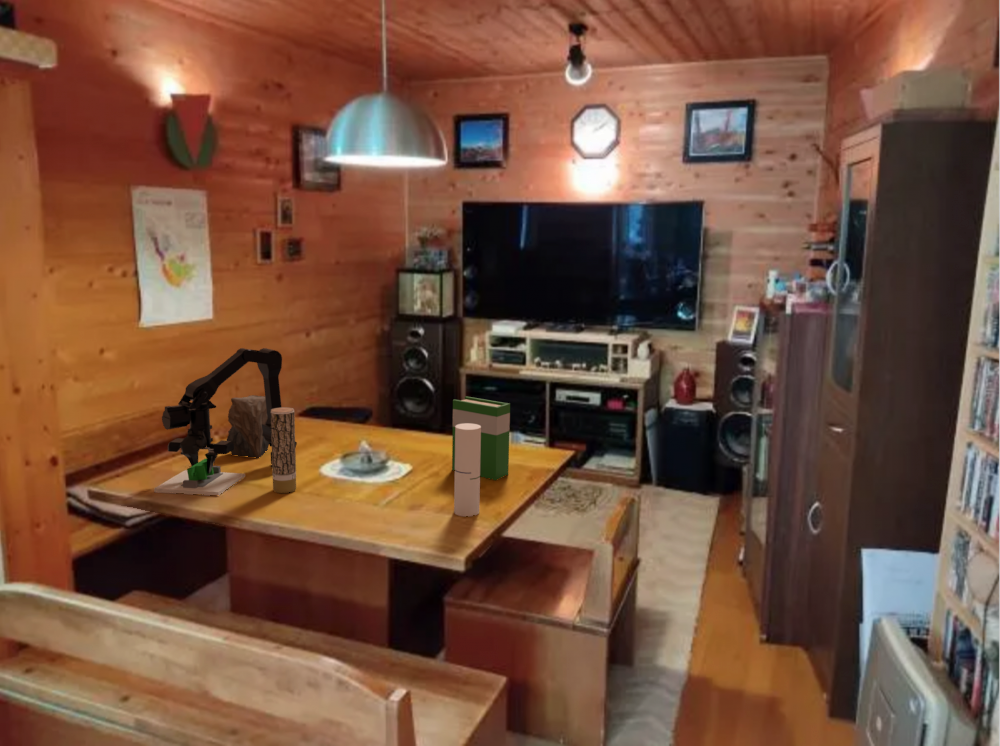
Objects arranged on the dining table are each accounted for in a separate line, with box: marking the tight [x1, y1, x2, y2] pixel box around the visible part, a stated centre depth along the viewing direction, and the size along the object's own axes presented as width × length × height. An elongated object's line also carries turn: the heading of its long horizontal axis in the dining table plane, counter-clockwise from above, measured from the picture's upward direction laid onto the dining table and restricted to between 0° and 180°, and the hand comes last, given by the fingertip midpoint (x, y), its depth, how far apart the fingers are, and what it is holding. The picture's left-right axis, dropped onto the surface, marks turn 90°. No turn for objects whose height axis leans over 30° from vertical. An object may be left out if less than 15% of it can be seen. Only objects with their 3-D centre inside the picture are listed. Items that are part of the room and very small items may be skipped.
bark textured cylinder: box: [271, 406, 297, 494], centre depth 228 cm, size 7×7×25 cm
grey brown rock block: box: [226, 394, 270, 459], centre depth 267 cm, size 13×13×20 cm
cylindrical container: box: [453, 423, 481, 517], centre depth 213 cm, size 7×7×25 cm
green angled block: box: [186, 457, 214, 481], centre depth 234 cm, size 11×4×5 cm, turn 174°
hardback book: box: [451, 396, 511, 481], centre depth 250 cm, size 18×7×24 cm, turn 56°
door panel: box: [153, 465, 246, 496], centre depth 233 cm, size 20×18×3 cm
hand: (202, 473), depth 234 cm, fingers closed on green angled block, 4 cm apart
